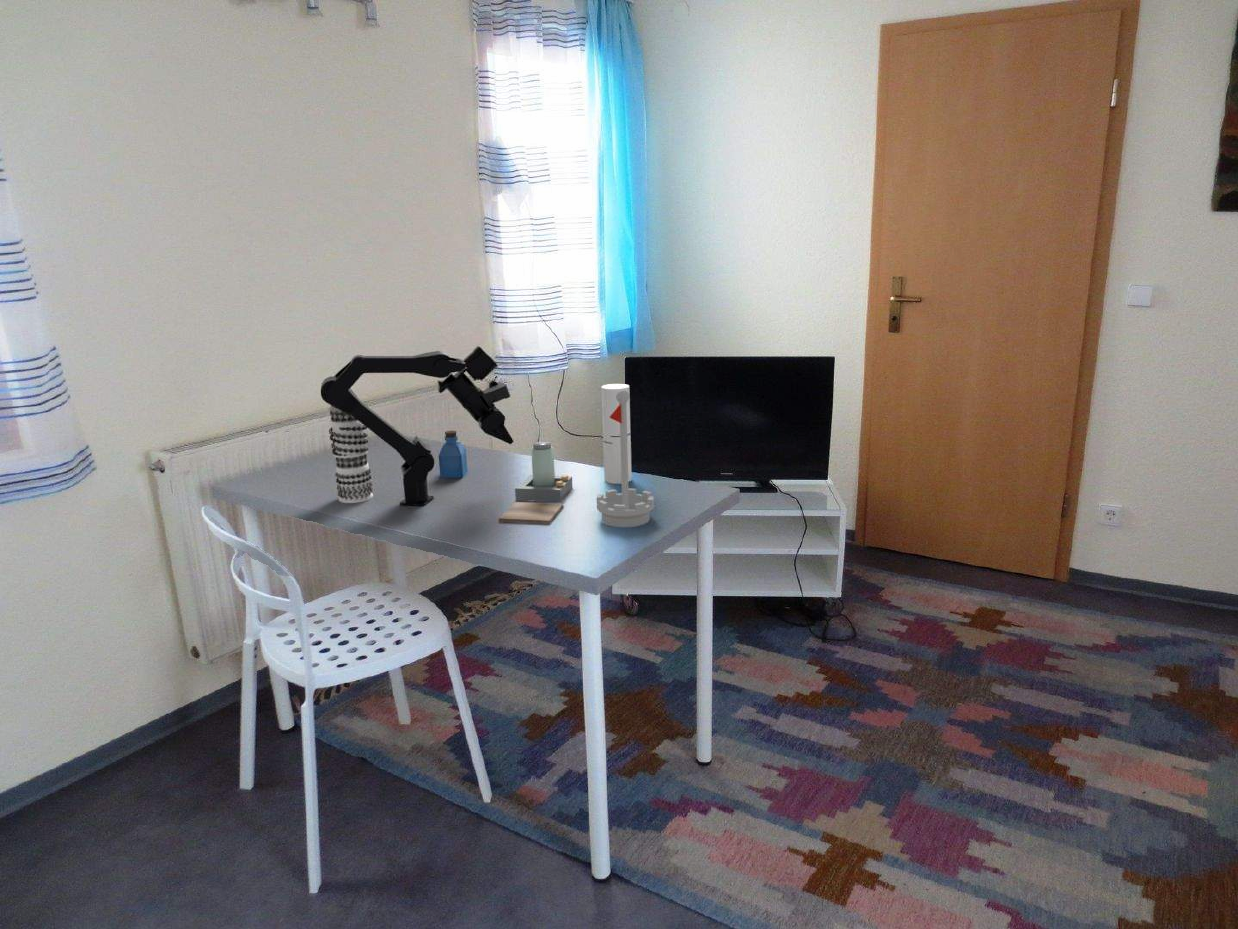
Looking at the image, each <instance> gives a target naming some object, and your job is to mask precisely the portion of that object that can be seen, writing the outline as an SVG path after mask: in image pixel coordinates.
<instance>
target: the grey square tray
mask: <svg viewBox="0 0 1238 929" xmlns="http://www.w3.org/2000/svg"><path fill="white" fill-rule="evenodd" d="M572 489H573V476H569V475H555V487H533V474H528V475H527V476H526V478H524V479H523V480H522V481H521V482H520V483H519V484H518V485H517V486H515V488H514V492H515V495H514V497H515V501H528V500H534V501H533V502H536V501H537V502H553V501H554V502H555V503H556V502H557V503H558V502H559V503H561V502H562V501H563V500H564V498H566V496H567V495H568V494H569V493H570V491H571V490H572ZM568 492H569V493H568ZM562 499H563V500H562ZM554 502H553V503H554Z"/></svg>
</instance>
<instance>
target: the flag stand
mask: <svg viewBox="0 0 1238 929" xmlns="http://www.w3.org/2000/svg"><path fill="white" fill-rule="evenodd" d="M629 393H630V392H629ZM629 393H628V392H627V391H625V390H620V391H618V393H617V394H616V399H617V401H618V402H619V406H618V407H617V409H616V410H615V411H614V412H613V413H612V415H611V416H610V417H609V418H611V419H613V420H615V421H617V422H619V423H620V443H621V480H622V484H621V493H620V492H619V493H617V491H618V490H616V489H608V490H606V491H605V495H604V494H603V493H602V494H601V493H600V494H597V496H596V509H597V511H598V512H599V513H601V522H602V521H603V522H604V523H603V522H602V523H603V524H605V525H607V526H609V527H613V528H614V527H615V528H635V527H639V526H643V525H645V524H647V523H648V522H650V519H651V517H650V515H651V511H653V509H655V508H654V507H655V497H654V496H652V492H650V491H647V490H643V491H641V493H637V488H631V487H629V482H628V452H627V412H626V402H627V401H628V400H629Z"/></svg>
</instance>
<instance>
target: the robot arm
mask: <svg viewBox="0 0 1238 929" xmlns="http://www.w3.org/2000/svg"><path fill="white" fill-rule="evenodd" d="M498 367H499V365H498V364H497V363H496V362H495V360H494V359H493V358H492V357H491V356H490V355H489V354H488V353H486V352H485V351H484V349H483V348H482V347H481V346H480V345H477V346H476V347H475V348H474V349H473V351H472V352H470V353H469V354H468V355H467V356H466V357H465V358H464V359H461V358H458V357H457V358H456V357H451V356H449V355H448V354H447V353H446V352H445V351H442V350H435V351H429V352H425V353H424V352H423V353H420V354H416V355H361V354H357V355H355V356H353V357H352V358H351V360H350V361H349V362H348V363H347V364H346V365H344V366H343V367H342V368H341V369H340V370H339V371H337V373H336V374H334V375H333V376H328V377H325V379H323V381H322V382H321V386H320V396H321V398H322V400H323V401H324V402H325V403H326V404H328V405H330V406H331V405H332V406H333V407H335V408H337V409H339V410H341V411H344V412H346V413H348V414H350V415H352V416H353V417H354V418H356V419H357V420H358V421H360V422H361V423H362V424H363V426H364V425H365V426H366V427H367V429H369V431H371V432H372V433H373V434H375V435H376V436H377V437H378V438H380V439H381V440H382V441H384V442H385V443H386V444H388V445H389V446H390V447H391V448H393V449H394V450H395V451H396V452H397V453H398V454H399V455H400V456H401V458H402V459H403V460H404V462H403V464H402V465H401V466H400V469H401V473H402V474H401V475H402V476H403V477H402V483H403V492H404V493H403V494H404V499H402V500H401V501H399V505H404V506H425V505H426V504H428V503H429V502H431V501H432V500H433V499H435V496H434V495H429V488H428V479H427V478H428V474H429V473H430V472H432V470H433V469H434V466H435V458H434V456H433V453H432V450H431V447H430V445H429V444H426V443H424V442H423V440H421V439H420V438H419V437H418V435H415V436H414V439H411V438H409V437H407V436H405V435H404V434H403V433H402V432H400V431H399V430H398V429H397V428H395V426H392V425H391V424H390V423H389V422H388V421H386V420H385V419H384V418H383V417H381V416H380V415H379V414H378V413H376V412H375V411H374V410H372V409H371V408H370V407H369V406H368V405H366V404H365V403H364V402H362V401H361V399H360V398H359V397H358V396H357V395H356V393H355V392H354V391H353V390H352V387H353V385H355V383H356V382H357V381H358V380H359V379H360V378H361V377H362V376H363V375H364V374H406V373H407V374H419V375H422V376H426V377H432V378H438V379H442V380H437V385H438V386H437V391H438V392H439V394H442V393H443V392H445V391H446V390H447V391H448V393H450V394H451V395H452V396H453V397H454V399H456V401H458V403H460V405H461V406H462V407H463V409H464V410H466V411H467V412H468V414H470V416H471V417H472V418H473V419H474V421H475V422H477V423H478V427H479V428H480V429H481V430H482V431H483V432H484V434H485V435H486V434H487V436H491V437H493V438H495V439H498V440H501V442H504V443H507V444H509V445H512V444H513V443H514V439H513V438H512V436H511V434H510V433H509V431H508V429H507V427H506V426H505V420H506V416H505V415H504V414H503V413H502V411H501V410H500V409H499V408H497V407H496V404H494V403H498V402H500V401H502V400H504V399H505V400H506V399H509V398H510V397H511V393H510V392H509V389H508V386H507V384H506V383H505V382H499V383H498V382H497V381H496V380H495V379H494V380H490V381H488V387H486V389H484V390H482V389H481V388H480V387H477V385H476V384H475V383H474V382H473V381H472V380H474V381H475V382H476V380H477V381H479V380H480V381H482V382H483V380H484V379H485V378H486V377H487V376H489V375H490V374H491V373H492V372H493V371H495V369H497V368H498ZM453 373H454V374H453ZM466 373H467V374H468V375H469V376H470V377H471V378H472V380H471V379H470V378H469V377H468V376H467V374H466ZM443 378H445V379H443Z"/></svg>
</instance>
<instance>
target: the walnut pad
mask: <svg viewBox="0 0 1238 929" xmlns="http://www.w3.org/2000/svg"><path fill="white" fill-rule="evenodd" d="M563 509H564V503H553V502H552V503H549V502H548V503H547V502H529V501H528V502H527V501H526V502H524V501H522V502H521V501H515V502H514V503H513V504H512V505H511V506H509V507H508V509H507V510H505V511H504V513H503V514H502V515H501V516H500V517H499V518H498V522H499V521H502V522H501V523H516V522H524V523H523V524H538V523H543V524H542V525H550V524H551V523H552V522H553V521H554V519H555V518H556V517H557V516H558V514H559V513H560V512H561V511H562V510H563ZM560 510H561V511H560ZM556 515H557V516H556ZM555 516H556V517H555ZM503 521H504V522H503ZM551 521H552V522H551ZM526 522H527V523H526ZM550 522H551V523H550Z"/></svg>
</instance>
